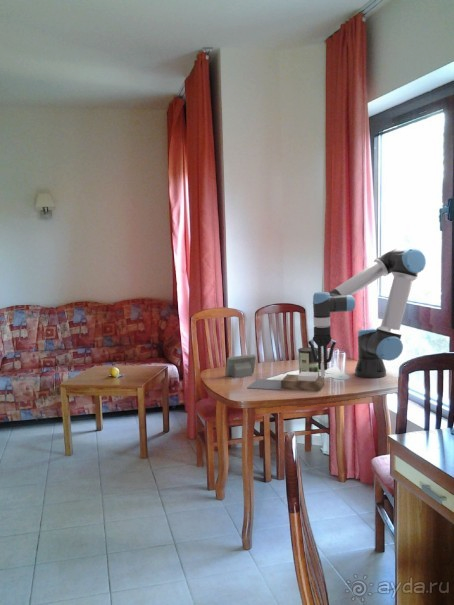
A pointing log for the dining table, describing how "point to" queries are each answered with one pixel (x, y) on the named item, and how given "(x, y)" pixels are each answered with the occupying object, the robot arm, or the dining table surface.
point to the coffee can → (307, 360)
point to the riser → (301, 383)
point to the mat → (266, 384)
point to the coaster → (308, 376)
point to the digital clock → (240, 365)
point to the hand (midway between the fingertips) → (322, 376)
